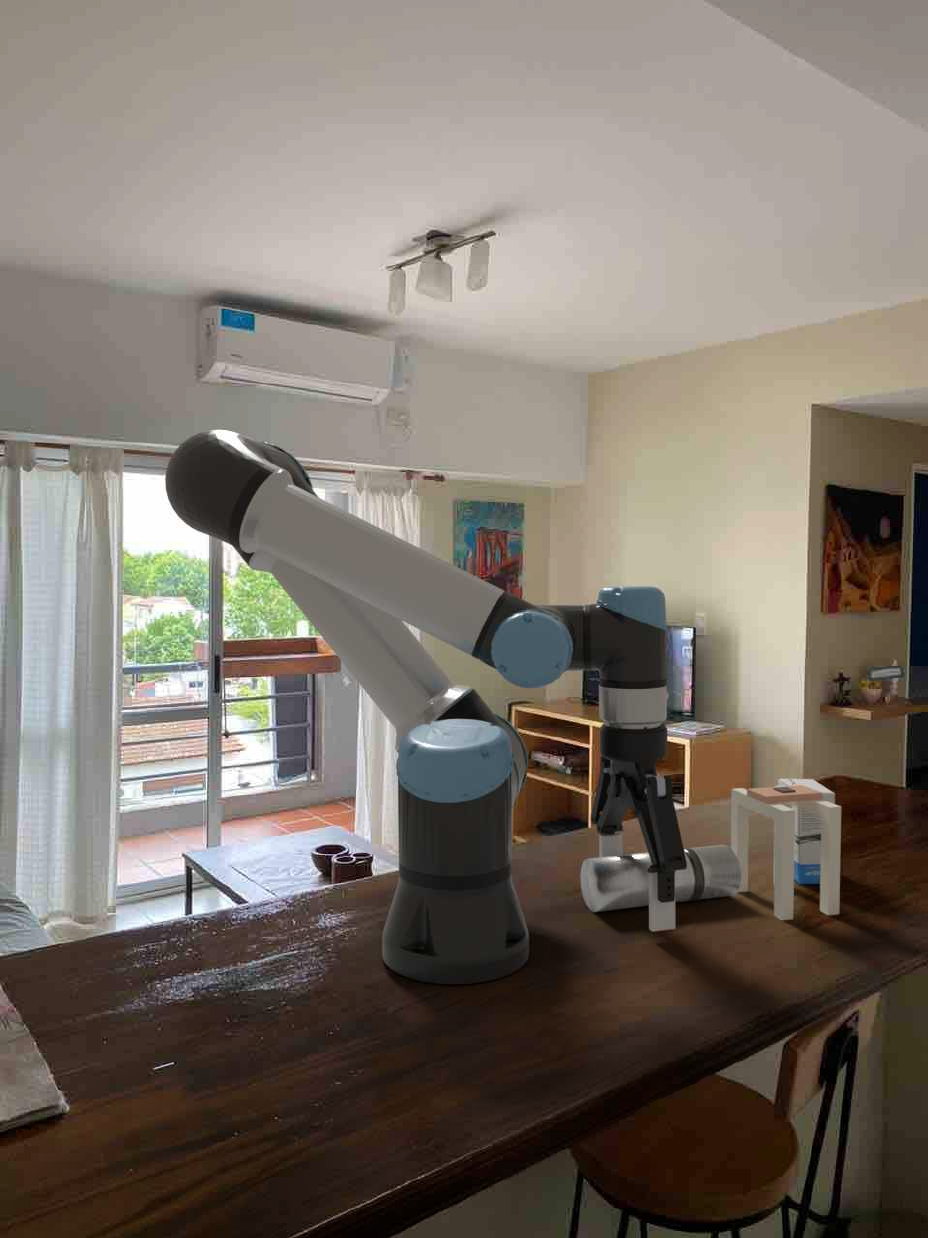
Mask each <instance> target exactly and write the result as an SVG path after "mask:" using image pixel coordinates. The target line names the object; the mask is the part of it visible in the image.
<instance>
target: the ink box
mask: <svg viewBox="0 0 928 1238" xmlns="http://www.w3.org/2000/svg"><path fill="white" fill-rule="evenodd" d="M777 782H778V783H777V786H781V785H786V786H796V785H803V786H806V787H809V788H811V789H814V790H817V791H819V792H822V799H823V800H825V801H828V802H830V803H833V804H836V793H835V792H834V791H832V790H830V789H829V788H827V787H825V786H824V785H823V784H820V783H819V782H818V781H816V780H815V779H811V778H779V779H778V781H777ZM792 809H793V810H795V838H794V881H795V882H796V883H798V884H799V885H818V884H819V885H820V871H821V817H820V816H817V815H815V814H813V813H810V812H808V811H805V810H803V809H800V808H798V807H796V806H793V805H792Z"/></svg>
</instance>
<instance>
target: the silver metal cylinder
mask: <svg viewBox="0 0 928 1238" xmlns="http://www.w3.org/2000/svg"><path fill="white" fill-rule="evenodd" d="M683 848H684V847H683ZM684 853H685V857H686V862H687V868H686V869H684V870H676V871H675V903H680V902H681V903H682V902H693V901H694V902H695V901H698V900H704V899H713V898H715V899H716V898H722V897H730V896H735V895H736V894H737V893H739V892H738V890H739V888H740V884H741V870H740V865H739V862H738V859H737V857H736V855H735V853H734V852H733V850H732V849H731V846H729V845H726V844H718V845H716V844H715V845H708V846H699V847H685V848H684ZM650 865H652V863H651V860H650V856H649V853H648V851H647V852H639V853H638V852H637V853H628V854H623V855H618V856H608V857H591V858H590V857H589V858H585V859H584V860H583V862H582V864H581V868H580V887H581V889H580V890H581V892H582V893H581V894H582V897H583V900H584V903H585V904H586V906H587V908H588V909H589V910H590V911H591V912H592V913H598V912H606V911H614V910H622V909H623V910H624V909H631V908H638V907H639V908H640V907H646V906H648V907H649V873H648V871H647V869H648V868H649V867H650Z"/></svg>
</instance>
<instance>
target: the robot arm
mask: <svg viewBox="0 0 928 1238" xmlns="http://www.w3.org/2000/svg"><path fill="white" fill-rule="evenodd" d="M164 479H165V480H164V481H165V484H164V485H165V493H166V495H167V500H168V502H169V504H170V506H171V508H172V510H173V511H174V513H175V514H176V515H177V516H178V518H179V519H180V520H181V521H182V522H184V523H185V524H186V525H187V526H188V527H190V528H191V529H193V530H196V531H197V532H199V533H201V534H204V535H208V536H210V537H213V538H216V539H218V540H219V541H222V542H224V543H226V544H228V545H230V546H232V547H233V548H234V550H235V551H236V552H237V554H238V555H239V556H240V557H241V558H242V560H243V561H244V562H245V563H246V565H247V566H248V567H249V569H250V570H252V571H257V572H266V573H268V574H271V575H272V576H273V578H274V580H276V581H277V583H278V584H279V585H280V586H281V588H282V589H283V590H284V592H285V593H286V594H287V595H288V596H289V598H290V599H291V600H292V601H293V603H294V604H295V605H296V607H298V609H299V610H300V612H301V613H302V614H303V615H304V616H305V618H306V619H307V620H308V621H309V623H310V624H311V625H312V626H313V628H314V629H315V630H316V632H317V633H318V634H319V635H320V637H321V638H322V639H323V640H324V642H325V643H326V644H327V645H328V646H329V647H330V649H331V650H332V651H333V653H334V654H335V655H336V656H337V658H338V659H339V660H340V661H341V663H342V664H343V666H344V667H346V669H347V670H348V671H349V673H350V674H351V676H353V677H354V679H355V681H357V683H358V684H359V685H360V686H361V688H362V689H363V690H364V691H365V693H366V694H367V695H368V696H369V697H370V699H371V700H372V702H374V704H375V705H376V707H378V709H379V710H380V711H381V712H382V714H383V715H384V716H385V717H386V719H387V720H388V721H389V722H390V724H391V725H392V726H393V727H394V729H395V733H396V734H395V735H396V737H395V747H394V748H395V751H396V752H397V753H398V755H397V756H398V757H397V758H396V764H395V770H396V776H397V803H398V804H397V809H398V810H397V815H398V818H397V821H398V822H397V823H398V824H397V825H398V826H397V827H398V831H397V832H398V833H397V834H398V835H397V836H398V881H397V882H398V883H397V885H396V889H395V893H394V896H393V898H392V902H391V906H390V908H389V912H388V914H387V918H386V921H385V924H384V927H383V931H382V937H381V942H382V943H381V944H382V947H381V949H382V953H381V954H382V959H383V963H384V964H385V965H386V966H387V967H388V968H389V969H390V970H392V971H393V972H395V973H396V974H399V975H401V976H403V977H406V978H409V979H412V980H414V981H415V980H416V981H420V982H425V983H431V984H440V985H468V984H469V985H470V984H471V985H472V984H478V983H484V982H490V981H493V980H494V981H495V980H497V979H501V978H504V977H506V976H508V975H511V974H513V973H515V972H517V971H518V970H519V969H521V968H522V967H523V966H525V964H526V963H527V962H528V959H529V957H530V956H529V954H530V935H529V934H530V933H529V930H528V927H527V924H526V920H525V917H524V914H523V911H522V908H521V904H520V902H519V898H518V896H517V895H518V894H517V892H516V890H515V889H516V888H515V885H514V882H513V874H512V873H513V872H512V871H513V869H512V868H513V866H512V864H513V863H512V860H513V857H512V855H513V854H512V853H513V852H512V851H513V849H512V848H513V845H512V844H513V838H512V837H513V824H512V823H513V822H512V821H513V819H512V818H513V817H512V816H513V808H514V805H515V803H516V801H517V798H518V796H519V795H520V794H521V792H522V791H523V788H524V787H525V784H526V779H527V776H528V767H529V764H528V763H529V762H528V754H527V749H526V745H525V743H524V741H523V738H522V736H521V735H520V733H519V732H518V730H517V729H516V728H515V726H514V725H513V724H512V723H511V722H509V721H508V720H507V719H506V718H504V717H502V716H501V715H500V714H498V713H495V712H494V711H492V709H491V708H490V707H489V706H488V704H487V703H486V701H485V700H484V699H483V697H481V696H480V695H479V693H478V692H477V691H476V690H475V689H474V688H473V686H471V685H465V684H464V685H463V684H456V683H454V682H452V680H451V679H450V678H449V677H448V675H447V674H446V673H445V672H444V670H443V669H442V668H441V667H440V666H439V664H438V663H437V662H436V661H435V659H433V657H432V656H431V654H430V653H429V652H428V650H426V648H425V647H424V646H423V645H422V643H420V641H419V640H418V639H417V637H416V636H415V635H414V633H413V632H412V631H411V630H410V629H409V627H408V626H407V625H406V624H408V625H410V626H412V627H414V628H416V629H418V630H420V631H422V632H424V633H426V634H427V635H430V636H432V637H434V638H436V639H438V640H440V641H442V642H444V643H445V644H447V645H450V646H452V647H453V648H456V649H457V650H459V651H461V652H464V653H465V654H468V655H469V656H472V657H473V658H475V659H476V660H478V661H479V662H482V663H484V664H485V665H487V666H489V667H491V668H493V669H495V670H497V672H498V673H499V674H500V675H501V677H503V679H504V680H505V681H507V682H508V683H510V684H512V685H514V686H515V687H520V688H523V689H538V688H539V689H540V688H541V687H545V686H548V685H551V684H552V683H555V682H556V681H557V680H559V679H560V678H561V676H562V675H563V674H564V673H565V672H567V671H568V672H569V671H571V672H572V671H577V672H578V671H585V672H586V671H598V672H599V673H598V674H599V685H598V711H599V712H598V713H599V714H598V715H599V717H598V718H599V719H600V720H601V721H603V722H604V723H602V724H601V726H600V727H599V747H600V749H599V753H600V760H599V761H600V762H599V764H600V766H599V776H598V779H597V785H596V790H595V796H594V800H593V804H592V809H591V813H590V822H591V824H592V825H596V827H595V828H596V832H597V833H598V834H599V835H598V845H599V847H598V852H599V853H598V854H599V857H608V856H618V855H624V854H623V853H624V852H623V850H624V849H623V834H622V833H620V832H624V831H625V830H624V827H623V824H622V823H623V822H624V819H625V816H626V814H627V812H628V809H629V808H630V811H631V814H633V815H634V816H635V817H637V821H638V823H639V824H638V825H639V827H640V830H641V834H642V836H643V840H644V843H645V846H646V849H647V852H648V853H649V856H650V860H651V863H652V865H650V867H649V868H648V869H647V871H648V873H649V906H648V929H649V931H650V932H660V931H668V930H675V929H676V902H675V871H676V870H684V869H686V868H687V862H686V857H685V853H684V843H683V840H682V839H683V838H682V834H681V831H680V827H679V826H680V825H679V821H678V817H677V812H676V807H675V802H674V798H673V786H672V785H673V784H672V782H673V781H672V777H671V775H668V774H667V775H658V773H657V767H656V763H657V762H658V761H661V760H664V759H665V758H666V757H667V756H668V753H669V752H668V750H669V749H668V727H667V726H666V725H665V724H664V723H662V722H664V721H665V720H667V716H668V710H667V709H668V707H667V706H668V699H669V698H670V693H669V692H668V691H667V681H668V679H667V677H668V676H667V675H668V674H667V673H668V672H667V671H668V626H667V609H666V608H667V607H666V597H665V593H664V592H663V591H662V590H661V589H660V588H658V587H655V586H648V585H647V586H642V585H641V586H607V587H605V586H604V587H602V588H601V589H600V590H599V591H598V597H597V600H596V603H591V604H584V605H579V604H578V605H577V604H575V605H571V604H570V605H569V604H568V605H567V604H566V605H565V604H564V605H562V604H558V605H557V604H548V605H547V604H536V605H535V604H532V603H530V602H528V601H526V600H524V599H522V598H521V597H518V596H517V595H514V594H512V593H510V592H507V591H505V590H504V589H502V588H500V587H497V586H496V585H495V584H494V585H493V584H491V583H489V582H488V581H485V580H484V579H482V578H479V577H478V576H476V575H474V574H472V573H470V572H468V571H466V570H464V569H462V568H460V567H458V566H456V565H454V564H453V563H450V562H448V561H446V560H444V559H442V558H440V557H438V556H436V555H434V554H432V553H430V552H428V551H426V550H424V549H423V548H421V547H418V546H416V545H414V544H412V543H410V542H408V541H406V540H404V539H402V538H401V537H398V536H396V535H394V534H392V533H390V532H388V531H386V530H384V529H382V528H380V527H379V526H377V525H375V524H372V523H370V522H369V521H366V520H364V519H362V518H360V517H359V516H356V515H354V514H352V513H350V512H348V511H346V510H345V509H342V508H340V507H339V506H338V505H335V504H333V503H330V502H328V501H327V500H325V499H322V498H320V497H319V496H318V495H317V493H316V492H315V491H314V488H313V483H312V480H311V478H310V476H309V473H308V472H307V470H306V469H305V468H304V466H303V465H302V464H301V462H300V461H299V460H297V458H296V457H295V456H294V455H293V454H291V453H289V452H288V451H286V450H285V449H284V448H282V447H279V446H278V445H275V444H272V443H269V442H264V441H259V440H256V439H253V438H250V437H249V436H246V435H243V434H241V433H238V432H235V431H230V430H224V429H212V430H205V431H201V432H199V433H196V434H194V435H191V436H190V437H189V438H187V439H186V440H184V441H182V443H180V445H178V447H177V448H176V449H175V450H174V452H173V453H172V454H171V456H170V458H169V461H168V463H167V467H166V471H165V477H164ZM405 623H406V624H405ZM616 832H617V833H616ZM618 832H619V833H618ZM599 857H598V858H599Z"/></svg>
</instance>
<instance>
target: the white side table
mask: <svg viewBox="0 0 928 1238" xmlns="http://www.w3.org/2000/svg"><path fill="white" fill-rule="evenodd" d="M730 805H731V807H730V808H731V811H730V812H731V814H730V816H731V818H730V819H731V820H730V822H731V823H730V825H731V826H730V848H731V849H732V850H733V852H734V853H735V855H736V857H737V859H738V862H739V865H740V870H741V884H740V888H739V890H738V892H737V893H743V892H744V893H745V892H748V891H749V838H750V837H749V830H750V829H749V827H750V826H749V824H750V822H749V821H750V814H749V813H750V810H751V811H753V812H755V813H758V814H759V815H762V816H764V817H765V818H766V817H767V818H768V819H770V820H772V821H773V870H772V871H773V872H772V873H773V874H772V876H773V877H772V878H773V880H772V881H773V882H772V883H773V886H774V887H773V890H774V891H773V896H774V897H773V916H774V917H775V918H777V919H778V920H780V921H790V920H794V898H795V897H794V893H795V891H794V889H795V887H794V886H795V885H794V884H795V882H794V881H795V880H794V838H795V810H793V809H792V805H793V806H796V807H798V808H800V809H803V810H805V811H808V812H810V813H813V814H815V815H817V816H820V817H821V871H820V884H819V912H821V913H823V914H825V915H826V916H834V915H835V916H837V915H840V902H841V901H840V899H841V898H840V897H841V896H840V895H841V892H840V891H841V890H840V889H841V887H840V886H841V848H842V847H841V844H842V843H841V841H842V837H841V835H842V834H841V833H842V806H841V805H838V804H836V803H835V804H833V803H830V802H828V801H825V800H823V799H822V792H819V791H817V790H814V789H811V788H809V787H806V786H803V785H796V786H786V785H781V786H778V785H774V786H770V787H769V786H768V787H756V788H747V789H746V788H744V787H737V788H731V803H730Z"/></svg>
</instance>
